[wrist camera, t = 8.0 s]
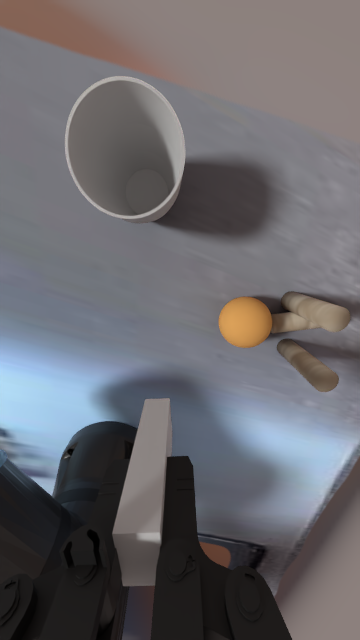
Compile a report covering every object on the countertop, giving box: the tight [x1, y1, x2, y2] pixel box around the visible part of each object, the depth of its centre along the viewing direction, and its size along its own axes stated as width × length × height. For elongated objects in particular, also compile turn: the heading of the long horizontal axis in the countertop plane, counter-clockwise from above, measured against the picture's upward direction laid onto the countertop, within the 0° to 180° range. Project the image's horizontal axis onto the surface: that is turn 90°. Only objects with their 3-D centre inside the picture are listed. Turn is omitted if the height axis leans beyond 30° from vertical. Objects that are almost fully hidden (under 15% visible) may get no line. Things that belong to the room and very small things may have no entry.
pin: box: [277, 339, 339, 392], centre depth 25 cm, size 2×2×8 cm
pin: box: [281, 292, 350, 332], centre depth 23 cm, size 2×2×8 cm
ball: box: [219, 297, 272, 348], centre depth 25 cm, size 6×6×6 cm
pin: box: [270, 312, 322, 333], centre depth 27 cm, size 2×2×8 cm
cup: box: [65, 76, 185, 223], centre depth 19 cm, size 8×8×10 cm
